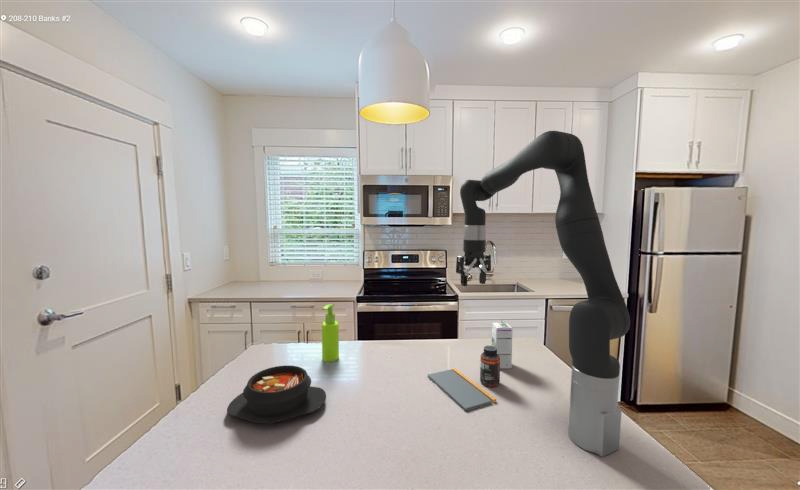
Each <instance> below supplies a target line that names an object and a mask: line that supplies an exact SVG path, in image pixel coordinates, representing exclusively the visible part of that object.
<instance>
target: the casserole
mask: <svg viewBox="0 0 800 490" xmlns="http://www.w3.org/2000/svg"><path fill="white" fill-rule="evenodd" d="M311 379H312V378H311V377H310V376H309V374H308V372H307V371H306V370H305V369H304V368H303V367H300V366H297V365H277V366H273V367H269V368H268V367H267V368H265V369H263V370H260V371H258V372H257V373H254V374H253V375H252V376H251V377H250V378H249V379H248V381H247V384H246V385H245V387H244V389H243V390H242V391H243V392H242V393H241V392H240V394H239V395H237V396H235V398H234V399H233V400H232V401H230V402H229V404H228V406H227V409H226V413H227V415H229V416H230V417H234V418H238V419H239V418H240V419H243V420H247V421H249V422H252V423H256V424H257V423H258V424H274V423H279V422H283V421H286V420H289V419H292V418H295V417H298V416H303V415H307V414H312V413H314V412H316V411H318V410H319V409H320V408H322V407H323V405H324V404H325V403H326V401H327V400H326V399H327V394H326V391H325V390H324V389H323V388H321V387H316V386H311V384H312V380H311Z"/></svg>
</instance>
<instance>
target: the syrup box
mask: <svg viewBox="0 0 800 490" xmlns="http://www.w3.org/2000/svg"><path fill="white" fill-rule="evenodd" d="M491 346H494V347H496V348H497V354H498V355H499V356H500V369H509V370H510V369H512V363H513V362H512V361H513V360H512V359H513V358H512V357H513V327H512V326H511V325H510V324H509V323H508V322H500V321H499V322H491Z"/></svg>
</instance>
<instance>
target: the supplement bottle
mask: <svg viewBox="0 0 800 490" xmlns="http://www.w3.org/2000/svg"><path fill="white" fill-rule="evenodd" d="M479 361H480V366H479V369H480V370H479V377H480V378H479V382H480V383H481V384H482V385H483V386H486V387H490V388H491V387H492V388H494V387H497V386H499V385H500V379H501V378H500V377H501V368H500V356H499V355H498V354H497V348H496V347H494V346H492V345H484V347H483V352H481V354H480V360H479Z"/></svg>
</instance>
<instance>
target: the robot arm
mask: <svg viewBox="0 0 800 490" xmlns="http://www.w3.org/2000/svg"><path fill="white" fill-rule="evenodd" d="M586 163H587V162H586V156H585V151H584V146H583V143H582V141H581V139H580V138H579V137H578V136H577V135H575V134H573V133H568V132H563V131H560V130H559V131H558V130H547V131H545V132H542V133H541V134H540V135H538V136H537V137H536V138H534V139H533V140H532V141H531V142H530V143H528V144H527V145H526V146H525V147H523V148H522V149H521V150H519V151H518V152H517V153H516V154H514V155H513V156H512V157H511V158H510V159H507V161H505V162H503V163H502V164H500V165H499V166H497V167H495V168H493V169H491V170H489V171H488V172H486V173H485V174H484V175H483V176H482V177H481V180H479V179H476V180H475V179H466V180H464V181H463V183H462V184H461V186H460V189H459V190H460V191H459V193H460V194H459V196H460V200H461V204H462V207H463V213H464V227H463V240H462V241H463V243H462V244H463V248H462V249H463V250H462V251H463V253H464V255H463V256H462V255H457V256H456V261H455V262H456V265H455V273H456V274H459V275H460V285H461V286H462V287H467V286H468V274H469V272H470V271H472V269H475V268H477V269H478V270H479V278H478V279H479V284H481V285H485V284H486V281H487V273H488V272H491V271H492V258H491V257H492V256H491V254H487V253H485V252H486V245H487V242H486V241H487V229H486V221H487V220H486V219H487V217H486V215H487V214H486V211H485V209H484V208H481V207H479V206H478V203H477V202H484V201H488V200H489V199H491V198H492V197H493V196H495V195H496V194H497V193H499V192H500V191H503V190H505V189H508V188H509V187H511V186H513V185H514V184H515V183H517V181H518V180H519V178H520V177H521V176H522V175H524V174H526V173H527V172H531V171H534V170H537V169H545V170H553V171H554V173H555V174H556V177H557V181H558V185H559V190H560V194H559V200H558V204H557V209H556V211H555V217H554V219H555V221H554V223H555V229H556V233H557V238H558V240H559V242H558V243H559V245H560V247H561V250H562V252H563V253H564V254H565V257H567V259H568V260H569V262H570V263H571V265H572V266H573V267H574V268H575V269H576V270H577V271H576V272H578V274H579V275H580V277H581V279H582V281H583V284H584V287H585V290H586V294H587V299H585V300H581V301H578V302H577V303H576V304H574V305H573V306H572V308H571V310H570V312H569V318H568V350H569V354H570V356H571V359H572V360H571V361H572V362H571V375H570V377H571V378H570V395H569V407H568V408H569V409H568V410H569V411H568V426H567V427H568V429H567V430H568V431H567V434H568V437H569V439H570V440H571V441H572V442H573V443H574V444H575V445H576V446H578V447H580V448H581V449H583V450H585V451H587V452H590V453H594V454H596V455H598V456H600V457H602V458H603V457H606V456H608V455H609V454H611V453H613V452H615V451H618V450H619V449H620V438H621V423H622V411H623V410H622V408H621V407H620V406H618V402H619V401H618V399H619V389H620V388H619V387H620V373H621V372H620V371H621V364H620V362H619V360H618V358H616V357H614V356H613V355H611V353H610V352H611V349H610V348H611V347H610V346H611V345H610V344H611V340H616V339H620V338H623V337H624V336H625V335H626V334H627V333H628V332H629V330H630V327H631V318H630V312H629V308H628V306H627V304H626V302H625V299H624V297H623V294H622V292H621V290H620V287H619V284H618V281H617V279H616V277H615V276H616V275H615V274H614V270H613V266H612V262H611V259H610V257H609V252H608V249H607V246H606V242H605V237H604V233H603V230H602V225H601V223H600V218H599V215H598V212H597V209H596V204H595V201H594V197H593V192H592V190H591V186H590V182H589V177H588V171H587V164H586ZM484 253H485V254H484Z"/></svg>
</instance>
